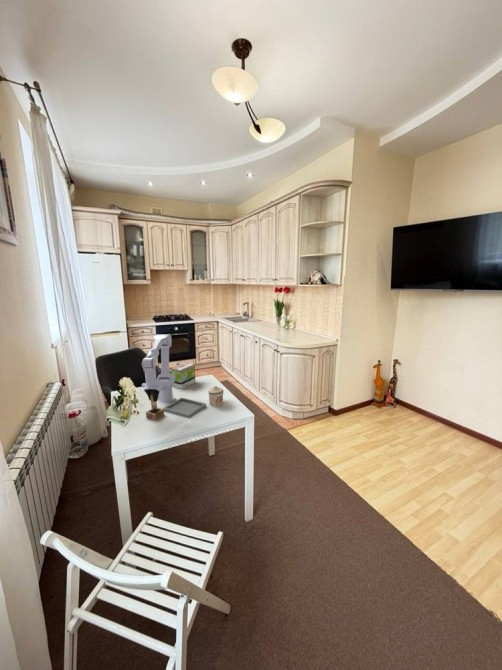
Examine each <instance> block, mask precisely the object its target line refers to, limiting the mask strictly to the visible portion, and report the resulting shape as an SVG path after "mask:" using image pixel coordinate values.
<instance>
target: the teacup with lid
mask: <svg viewBox="0 0 502 670" xmlns="http://www.w3.org/2000/svg"><path fill="white" fill-rule="evenodd" d="M224 392H225V391H224V389H223V388H222V387H219V386H217V385H213V387H211V388H209V389H208V391H207V393H208V401H209V403H208V404H209V405H210V406H211V407H219V406H221V405H223V404H224Z"/></svg>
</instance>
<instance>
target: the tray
mask: <svg viewBox="0 0 502 670" xmlns="http://www.w3.org/2000/svg"><path fill="white" fill-rule="evenodd" d="M205 408H207V403H206V402H201V401H198V400H197V401H196V400H193V399H189V398H185V397H180V398H179V399H176V400H174V401H172V403H171V402H170V403H169V404H167V405H166V406H165V407H162V409H164V412H167V413H170V414H173V415H175V416H180V417H184V418H187V419H189V418H191V417H193V416H194V415H195V414H197V413H198V412H200V411H201V410H203V409H205Z"/></svg>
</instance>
